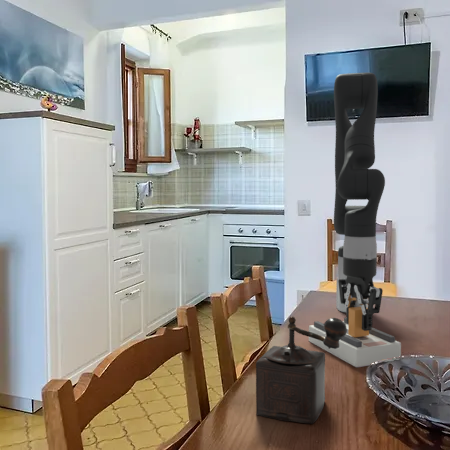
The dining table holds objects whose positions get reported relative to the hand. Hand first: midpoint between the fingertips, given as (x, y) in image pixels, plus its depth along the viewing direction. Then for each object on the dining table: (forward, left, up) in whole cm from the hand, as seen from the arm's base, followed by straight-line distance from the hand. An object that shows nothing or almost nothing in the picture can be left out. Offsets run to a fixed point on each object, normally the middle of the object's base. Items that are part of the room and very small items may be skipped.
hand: (358, 326), depth 116 cm
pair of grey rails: (-3, 0, -2) cm, 4 cm away
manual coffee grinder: (+21, -27, -7) cm, 35 cm away
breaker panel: (-3, 0, -6) cm, 7 cm away
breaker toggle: (0, 0, -2) cm, 2 cm away
